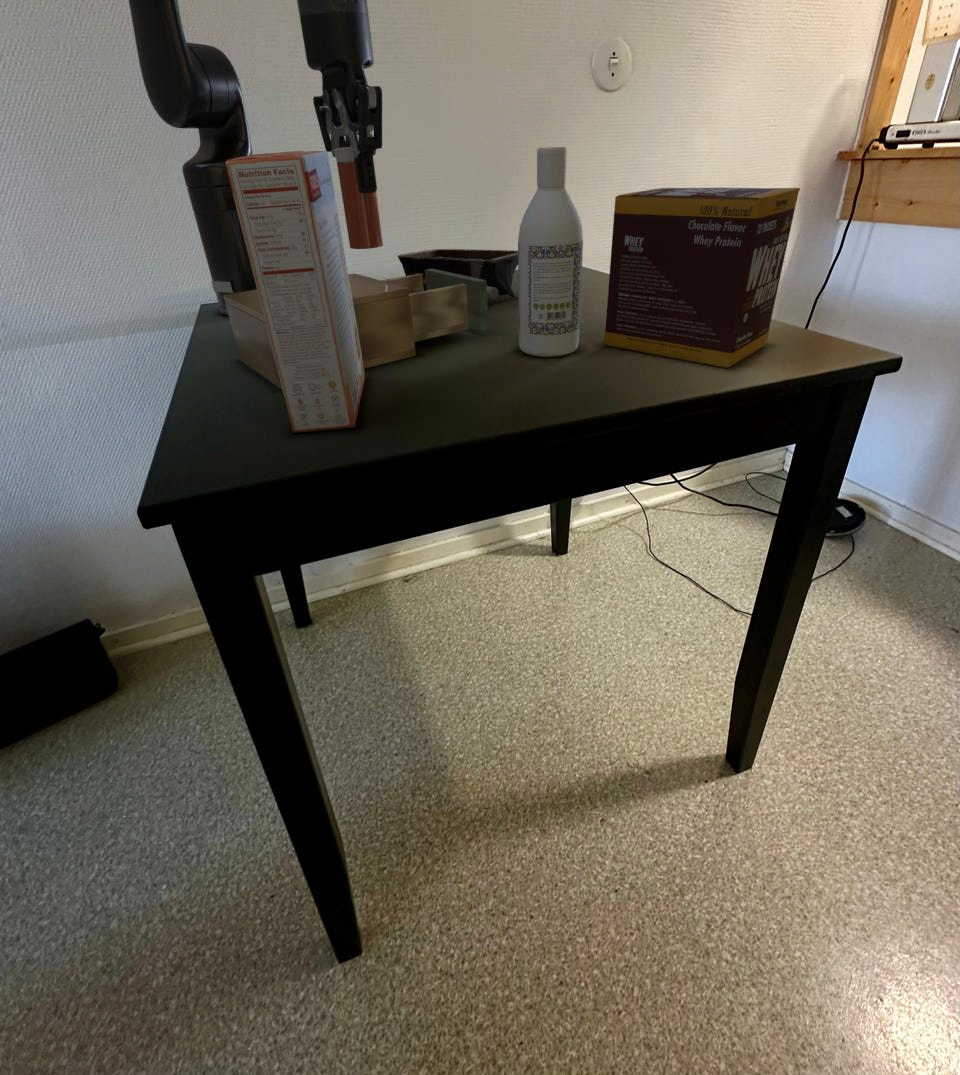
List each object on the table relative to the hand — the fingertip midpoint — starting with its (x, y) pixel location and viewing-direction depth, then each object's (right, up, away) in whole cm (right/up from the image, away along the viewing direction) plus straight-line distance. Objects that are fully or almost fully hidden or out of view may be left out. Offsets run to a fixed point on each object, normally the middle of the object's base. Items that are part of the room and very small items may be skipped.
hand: (358, 191), depth 76 cm
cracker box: (+1, -31, -16) cm, 35 cm away
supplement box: (+39, -21, -6) cm, 45 cm away
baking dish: (+13, -7, +18) cm, 23 cm away
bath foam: (+23, -22, -5) cm, 32 cm away
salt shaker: (0, -5, +3) cm, 6 cm away
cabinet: (-3, -22, -4) cm, 23 cm away
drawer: (+8, -16, +2) cm, 18 cm away
